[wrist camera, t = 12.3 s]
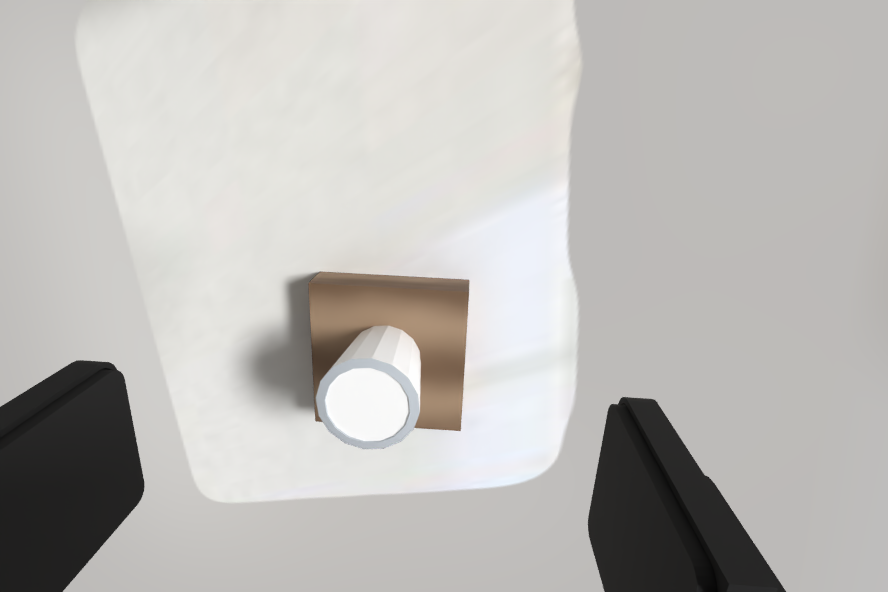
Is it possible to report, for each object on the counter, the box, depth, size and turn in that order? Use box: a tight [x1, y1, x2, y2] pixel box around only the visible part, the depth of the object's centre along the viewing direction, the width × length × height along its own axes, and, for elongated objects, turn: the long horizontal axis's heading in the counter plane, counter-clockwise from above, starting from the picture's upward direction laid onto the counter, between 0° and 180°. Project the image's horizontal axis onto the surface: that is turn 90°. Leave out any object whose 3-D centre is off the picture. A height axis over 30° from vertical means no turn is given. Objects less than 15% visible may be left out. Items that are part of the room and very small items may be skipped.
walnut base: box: [308, 272, 469, 431], centre depth 41 cm, size 12×12×3 cm
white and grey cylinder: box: [316, 325, 421, 449], centre depth 36 cm, size 7×7×7 cm
